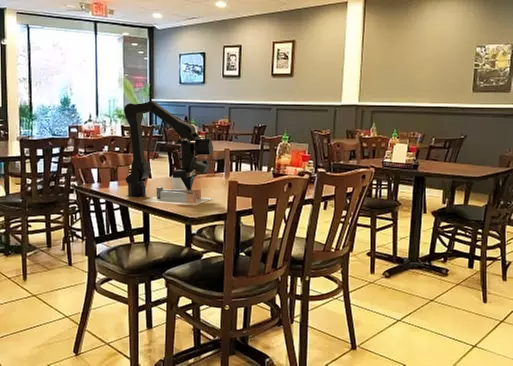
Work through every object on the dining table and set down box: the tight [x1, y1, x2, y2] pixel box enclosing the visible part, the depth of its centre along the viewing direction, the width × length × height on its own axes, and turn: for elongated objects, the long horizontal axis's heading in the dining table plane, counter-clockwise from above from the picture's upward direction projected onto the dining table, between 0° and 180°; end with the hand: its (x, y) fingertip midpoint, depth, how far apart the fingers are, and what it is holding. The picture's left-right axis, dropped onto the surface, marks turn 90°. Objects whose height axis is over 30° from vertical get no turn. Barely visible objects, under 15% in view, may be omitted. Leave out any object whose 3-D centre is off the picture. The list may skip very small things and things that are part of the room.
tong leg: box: [156, 186, 202, 199], centre depth 215 cm, size 18×3×4 cm, turn 93°
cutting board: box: [142, 196, 214, 206], centre depth 214 cm, size 24×18×1 cm
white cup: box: [171, 175, 186, 190], centre depth 242 cm, size 7×7×7 cm
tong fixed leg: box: [160, 191, 196, 203], centre depth 210 cm, size 15×2×4 cm, turn 71°
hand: (189, 191), depth 217 cm, fingers closed
